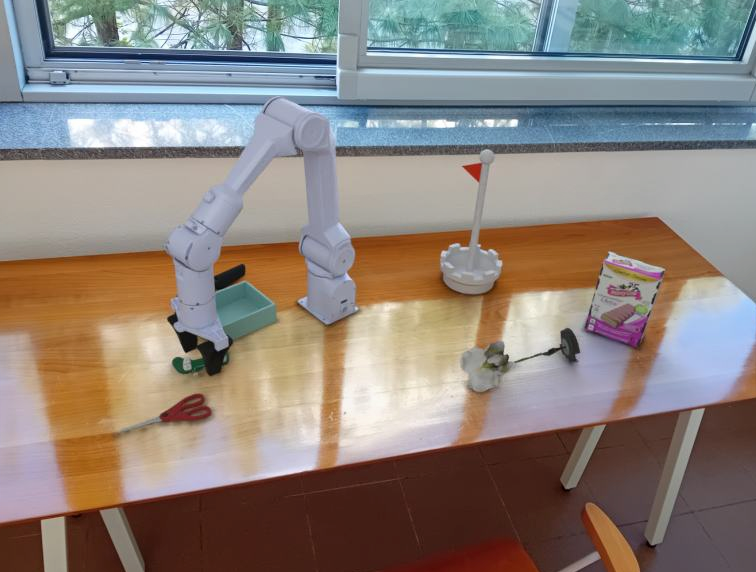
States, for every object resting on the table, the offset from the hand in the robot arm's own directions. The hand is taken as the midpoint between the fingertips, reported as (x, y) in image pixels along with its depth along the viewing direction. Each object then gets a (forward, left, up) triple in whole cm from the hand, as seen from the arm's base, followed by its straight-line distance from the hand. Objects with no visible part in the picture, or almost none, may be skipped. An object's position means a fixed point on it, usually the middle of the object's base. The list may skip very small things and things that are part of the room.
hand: (202, 361), depth 124 cm
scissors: (-7, +11, -2) cm, 13 cm away
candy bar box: (-40, -67, -2) cm, 78 cm away
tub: (+9, -11, -2) cm, 14 cm away
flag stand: (-9, -58, -2) cm, 59 cm away
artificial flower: (-35, -43, -2) cm, 56 cm away
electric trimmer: (+19, -13, -2) cm, 24 cm away
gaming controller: (0, 0, -2) cm, 2 cm away
